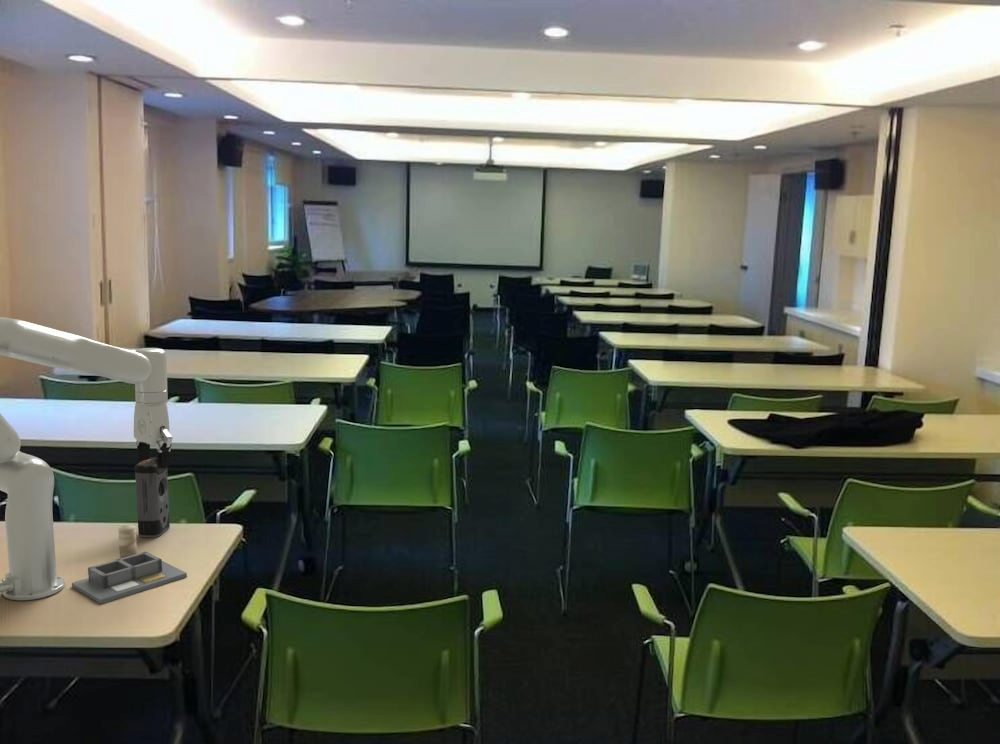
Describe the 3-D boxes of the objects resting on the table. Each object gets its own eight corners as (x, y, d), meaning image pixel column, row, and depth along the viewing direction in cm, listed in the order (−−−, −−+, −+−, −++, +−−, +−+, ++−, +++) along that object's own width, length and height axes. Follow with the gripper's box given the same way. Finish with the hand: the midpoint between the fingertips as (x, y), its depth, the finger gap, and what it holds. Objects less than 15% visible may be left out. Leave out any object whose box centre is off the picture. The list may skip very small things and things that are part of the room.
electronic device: (158, 538, 237) (154, 466, 233) (136, 537, 237) (132, 465, 233) (171, 526, 246) (168, 457, 243) (150, 526, 246) (147, 456, 243)
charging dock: (100, 604, 196) (99, 587, 195) (71, 586, 204) (70, 570, 204) (186, 576, 211) (186, 561, 211) (156, 561, 220) (156, 546, 220)
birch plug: (124, 562, 220) (123, 531, 218) (117, 558, 222) (115, 528, 221) (140, 558, 223) (138, 527, 221) (132, 554, 225) (130, 524, 224)
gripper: (120, 394, 224) (122, 459, 226) (154, 404, 212) (156, 472, 215) (148, 391, 229) (150, 455, 232) (183, 400, 218) (185, 467, 221)
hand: (153, 463), depth 223 cm, fingers open, 9 cm apart
